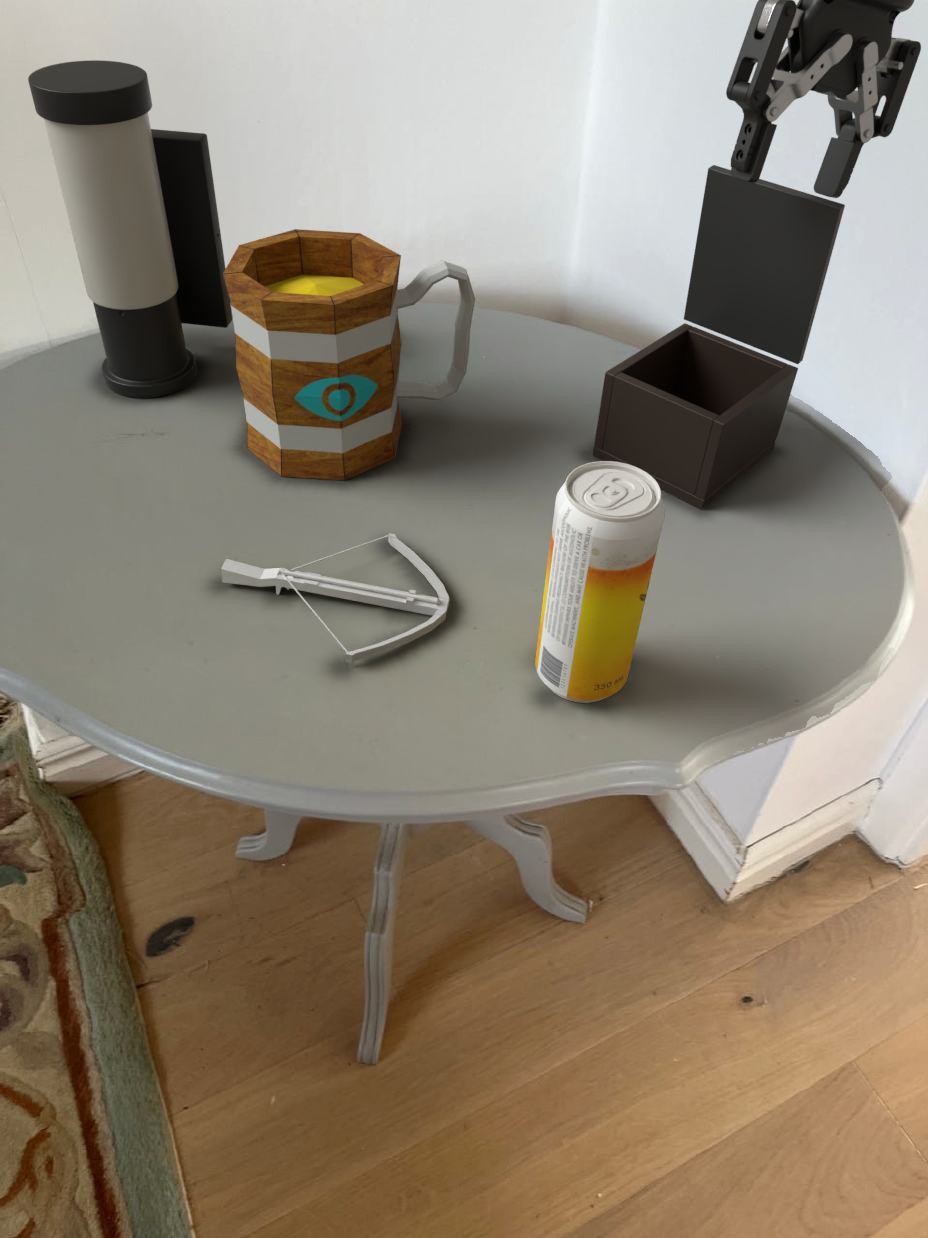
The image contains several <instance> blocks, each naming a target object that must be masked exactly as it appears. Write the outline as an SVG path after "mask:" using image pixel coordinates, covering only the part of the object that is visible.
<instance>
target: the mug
mask: <svg viewBox="0 0 928 1238" xmlns="http://www.w3.org/2000/svg"><path fill="white" fill-rule="evenodd" d="M401 258H402V255H401V254H399V253H398V252H396V251H394V250H392V249H391V248H388V247H386V246H385V245H383V244H381V243H379V242H377V241H375V240H373V239H372V238H370V237H368V236H366V235H364V234H362V233H361V232H347V231H346V232H344V231H331V230H330V231H329V230H317V229H315V230H314V229H298V228H294V229H291V230H287V231H284V232H280V233H276V234H273V235H270V236H267V237H262V238H260V239H256V240H253V241H249V242H245V243H242V244H238V246H237V248H236V249H235V251H234V253H233V255H232V257H231V259H230V260H229V262H228V263H227V266H225V271H224V272H223V278H224V281H225V285H226V289H227V292H228V296H229V300H230V304H231V312H232V322H233V330H234V346H235V368H236V372H237V377H238V381H239V385H240V389H241V392H242V398H243V405H244V412H245V419H246V449H247V450H249V452H251V453H252V454H254V455H255V456H256V457H257V458H258V459H259V460H261V461H262V462H263V463H265V464H266V465H267V466H268V467H270V468H271V469H272V470H273V471H274V472H275V473H276V474H278V475H279V476H280V477H287V478H288V477H289V478H301V479H314V480H315V479H316V480H330V481H331V480H332V481H347V480H349V479H352V478H354V477H356V476H358V475H360V474H362V473H365V472H368V471H369V470H371V469H374V468H376V467H378V466H380V465H384V464H385V463H387V462H390V461H392V460H394V459H396V456H397V451H398V446H399V443H400V442H399V441H400V437H401V432H402V427H403V422H402V414H401V408H400V407H401V406H400V402H399V399H407V400H409V399H411V400H412V399H413V400H414V399H415V400H429V401H441V400H443V399H445V398H447V397H449V396H451V395H453V394H455V393H456V392H458V390H459V388H460V386H461V384H462V381H463V380H464V378H465V376H466V374H467V371H468V370H467V369H468V363H469V362H468V361H469V354H470V342H471V341H470V340H471V328H472V327H471V326H472V322H473V315H474V310H475V303H476V298H475V294H474V291H473V287H472V283H471V279H470V275H469V273H468V270H467V269H466V268H464V267H463V266H460V265H457V264H454V263H451V262H449V261H446V260H442V259H441V260H439V261H437V262H435V263H434V262H433V264H430V265H428V266H426V267H423V268H422V269H421V270H420V271H419V273H418V274H417V275H416V276H415V277H414V278H413V279H412V280H411V281H410V283H408V284H407V285H406V286H405V287H404V288H400V289H398V286H399V277H400V268H401ZM447 278H449V279H450V278H451V279H453V280H455V281H457V283H458V290H459V300H458V305H457V309H456V315H455V321H454V332H453V333H454V334H453V338H454V339H453V351H452V362H451V365H450V368H449V370H448V372H447V375H446V377H445V378H443V379H441V380H439V381H437V382H435V383H427V382H422V381H418V380H417V381H412V380H399V371H400V362H401V352H402V338H401V330H400V329H401V328H400V320H399V310H400V309H403V308H404V309H405V308H408V307H411V306H412V307H413V306H415V304H417V303H418V302H420V301H421V300H422V299H423V298H424V297H425V295H426V294H427V293H428V292H429V291H430V289H431V288H432V287H433V286H434V285H436V284H437V283H439V282H441V281H443V280H445V279H447Z"/></svg>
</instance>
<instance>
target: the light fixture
mask: <svg viewBox="0 0 928 1238" xmlns="http://www.w3.org/2000/svg"><path fill="white" fill-rule="evenodd" d="M27 81H28V85H29V90H30V93H31V98H32V101H33V102H32V103H33V105H34V110H35V112H36V114H37V115H38V116H39V117H40V118H42V119H43V121H44V125H45V129H46V133H47V137H48V141H49V146H50V149H51V154H52V157H53V162H54V166H55V170H56V174H57V178H58V181H59V182H58V183H59V186H60V190H61V193H62V198H63V202H64V206H65V211H66V215H67V220H68V223H69V226H70V230H71V234H72V239H73V242H74V247H75V251H76V255H77V260H78V264H79V267H80V271H81V272H80V273H81V275H82V280H83V284H84V288H85V293H86V295H87V297H88V299H89V300H90V301H91V302H92V304H93V308H94V313H95V316H96V321H97V324H98V328H99V332H100V337H101V341H102V345H103V349H104V354H105V359H103V361H102V364H101V373H102V377H103V382H104V384H105V385H106V387H107V388H108V389H109V390H111V391H112V392H114V393H116V394H119V395H121V396H124V397H129V398H137V399H147V398H148V399H150V398H157V397H164V396H168V395H171V394H175V393H176V392H177V393H178V392H179V391H181V390H183V389H185V388H187V387H188V386H189V385H190V384H192V383H193V381H195V379H196V377H197V375H198V366H197V359H196V356H195V355H194V353H193V352H192V351H191V350H190V349H189V348H188V347H187V346H186V339H185V334H184V330H183V324H185V325H195V326H205V327H214V328H215V327H216V328H224V329H225V328H228V327H229V325H230V324H231V323H232V322H233V316H232V309H231V303H230V300H229V296H228V292H227V289H226V285H225V281H224V278H223V272H224V271H225V269H226V262H225V253H224V249H223V248H224V247H223V239H222V234H221V226H220V219H219V212H218V205H217V198H216V197H217V196H216V191H215V183H214V176H213V169H212V162H211V155H210V147H209V140H208V135H207V133H205V132H203V133H202V132H192V131H181V130H167V129H157V128H155V129H154V128H152V127H151V122H150V117H149V112H150V111H151V110H152V108H153V102H152V100H153V99H152V95H151V90H150V89H151V88H150V83H149V78H148V74H147V72H146V70H144V69H143V68H141V67H140V66H139V65H138V66H137V65H135V64H131V63H127V62H122V61H113V60H95V59H94V60H76V61H75V60H74V61H67V62H60V63H56V64H51V65H47V66H43V67H41V68H38V69H36V70H34V71H32V73H30V74H29V76H28V78H27Z"/></svg>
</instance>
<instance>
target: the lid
mask: <svg viewBox="0 0 928 1238" xmlns="http://www.w3.org/2000/svg"><path fill="white" fill-rule="evenodd" d="M705 179H706V181H705V187H704V193H703V198H702V205H701V211H700V217H699V222H698V227H697V228H698V229H697V236H696V241H695V248H694V254H693V259H692V266H691V272H690V277H689V285H688V290H687V297H686V303H685V309H684V313H683V314H684V315H683V320H684V321H687V322H689V323H692V324H694V325H697V326H700V327H702V328H705V329H707V330H709V331H712V332H715V333H717V334H719V335H723V336H725V337H727V338H730V339H732V340H735V341H737V342H740V343H743V344H745V345H747V346H750V347H752V348H755V349H757V350H760V351H763V352H765V353H768V354H770V355H773V356H776V357H778V358H780V359H783V360H785V361H788V362H790V363H793V364H796V365H799V364H800V363H801V362H802V361H803V360H804V356H805V353H806V349H807V347H808V346H807V345H808V342H809V339H810V335H811V332H812V331H811V330H812V327H813V323H814V320H815V316H816V313H817V310H818V309H817V308H818V306H819V302H820V298H821V294H822V290H823V287H824V284H825V280H826V276H827V273H828V270H829V269H828V268H829V266H830V262H831V258H832V255H833V251H834V247H835V243H836V240H837V236H838V233H839V229H840V225H841V222H842V218H843V214H844V210H845V208H846V204H845V203H840V202H838V201H835V200H832V199H827V198H825V197H822V196H818V195H814V194H812V193H808V192H805V191H801V190H798V189H794V188H791V187H788V186H784V185H781V184H778V183H775V182H771V181H769V180H764V179H761V178H759V179H758V181H757V182H755V183H752V182H746V181H743V180H740V179H737V178H734V177H732V175H731V169H728V168H726V167H722V166H719V165H716V164H712V165H711V166H710V167H708V168H707V174H706V178H705Z"/></svg>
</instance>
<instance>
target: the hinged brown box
mask: <svg viewBox="0 0 928 1238" xmlns="http://www.w3.org/2000/svg"><path fill="white" fill-rule="evenodd" d="M798 371H799V367H797V366H794V365H793V364H788V363H786V362H784V361H782V360H779V359H776V358H774V357H771V356H769V355H767V354H764V353H761V352H759V351H756V350H754V349H751V348H748V347H746V346H744V345H741V344H739V343H736V342H734V341H731V340H728V339H727V338H724V337H721V336H718V335H716V334H714V333H711V332H708V331H706V330H703V329H701V328H698V327H696V326H693V325H690V324H688V323H682V324H681V325H679V326H678V327H676V328H674V329H672V330H671V331H670V332H667V333H666V334H664V335H663V336H661V337H660V338H658V339H657V340H655V341H653V342H651V343H650V344H648V345H647V346H646V347H643V348H642V349H641V350H639V351H637V352H635V353H634V354H632V355H631V356H629V357H628V358H626V359H625V360H623V361H621V362H619V363H618V364H616V365H614V366H613V367H611V368H610V369H607V370H606V371H605V373H604V378H603V379H604V380H603V384H602V391H601V392H602V393H601V398H600V404H599V411H598V417H597V425H596V430H595V436H594V444H593V448H592V456H593V457H595V458H597V459H599V460H600V461H613V462H620V463H625V464H629V465H632V466H635V467H637V468H639V469H641V470H643V471H645V472H646V473H648V474H649V475H650V476H652V477H653V478H654V479H655V480H656V482H657V483H658V485H659V487H660V489H661V491H663V492H666V493H667V494H670V496H674V497H676V498H677V499H680V500H682V501H684V502H686V503H687V504H690V505H691V506H694V507H696V508H698V509H699V510H703V509H705V508H706V507H707V506H708V505H709V504H710V503H711V502H713V501H714V500H716V499H717V497H719V496H720V495H721V494H722V493H724V492H725V491H726V490H727V489H728V488H730V487H731V486H732V485H733V484H735V482H737V481H738V480H739V479H741V478H742V477H743V476H744V475H745V474H746V473H747V472H749V471H750V470H751V469H752V468H754V466H756V465H757V464H758V463H760V462H761V461H762V460H764V458H765V457H766V456H767V455H769V454H770V453H771V452H772V451H774V448H775V445H776V441H777V439H778V435H779V432H780V429H781V426H782V422H783V419H784V416H785V414H786V410H787V407H788V403H789V400H790V397H791V393H792V390H793V387H794V383H795V380H796V378H797V377H796V376H797V374H798Z"/></svg>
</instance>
